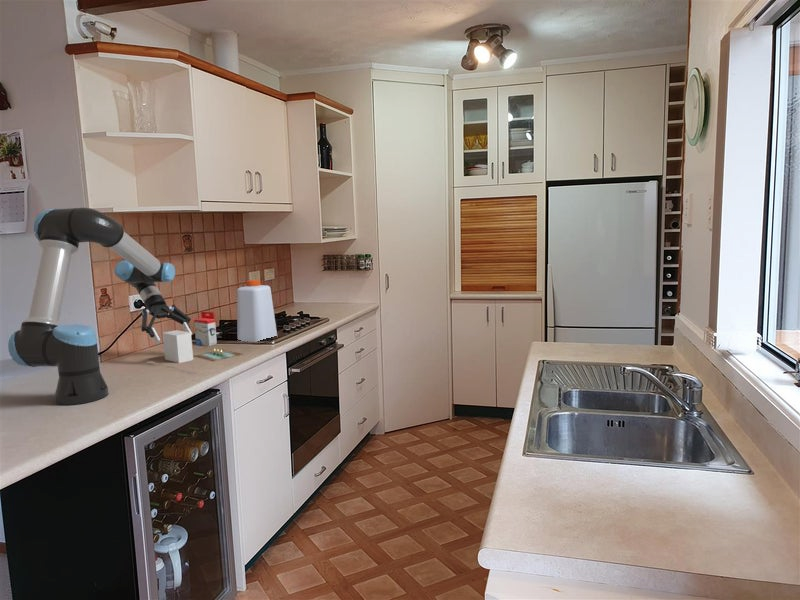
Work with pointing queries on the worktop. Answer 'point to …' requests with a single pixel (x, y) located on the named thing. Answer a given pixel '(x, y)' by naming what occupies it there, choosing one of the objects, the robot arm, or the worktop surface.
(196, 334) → the ink box
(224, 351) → the dock board
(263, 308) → the plastic bottle
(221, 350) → the header pins
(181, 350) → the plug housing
